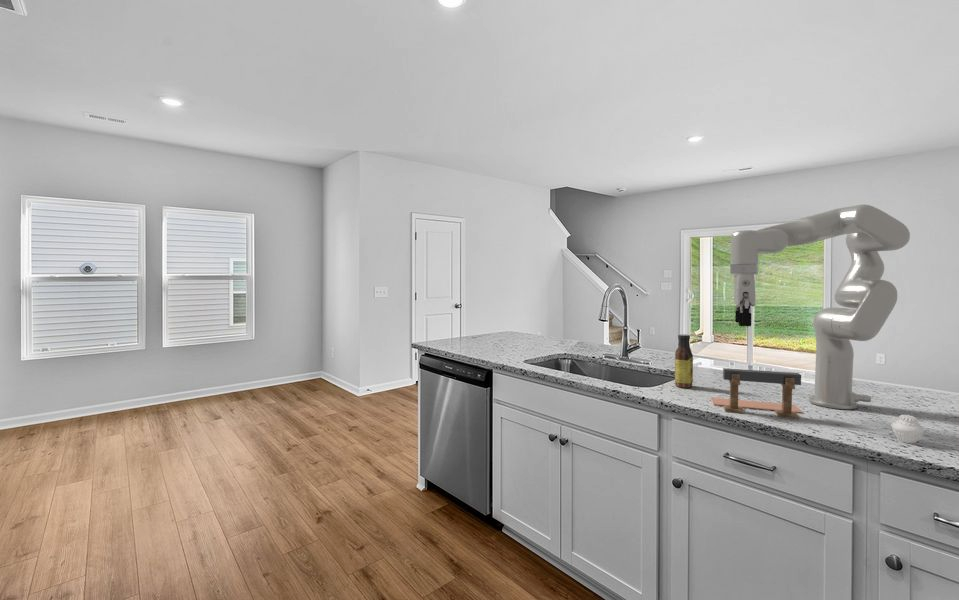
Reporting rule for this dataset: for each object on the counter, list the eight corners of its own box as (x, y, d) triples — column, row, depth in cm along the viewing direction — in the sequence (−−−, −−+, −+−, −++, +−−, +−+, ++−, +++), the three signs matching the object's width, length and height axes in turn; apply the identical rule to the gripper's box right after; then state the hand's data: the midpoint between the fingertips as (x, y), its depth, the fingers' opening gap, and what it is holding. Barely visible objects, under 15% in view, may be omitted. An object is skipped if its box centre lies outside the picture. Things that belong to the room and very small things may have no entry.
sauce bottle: (694, 389, 165) (695, 336, 164) (676, 388, 166) (677, 335, 165) (690, 384, 171) (691, 333, 170) (672, 384, 173) (673, 333, 171)
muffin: (927, 442, 112) (929, 415, 111) (918, 447, 109) (920, 419, 108) (895, 435, 117) (896, 409, 117) (886, 439, 114) (887, 413, 114)
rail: (797, 382, 133) (798, 373, 133) (800, 385, 131) (801, 375, 130) (722, 377, 141) (723, 368, 141) (724, 379, 138) (724, 370, 138)
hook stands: (793, 413, 136) (794, 375, 135) (799, 419, 130) (800, 379, 129) (723, 407, 143) (724, 370, 142) (725, 412, 137) (726, 374, 136)
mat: (794, 406, 143) (794, 404, 143) (802, 413, 136) (802, 412, 135) (711, 398, 152) (711, 397, 152) (714, 405, 144) (714, 404, 144)
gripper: (762, 270, 130) (761, 328, 131) (753, 269, 145) (752, 321, 146) (733, 270, 133) (732, 327, 134) (727, 270, 148) (726, 321, 149)
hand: (742, 324), depth 140 cm, fingers open, 9 cm apart
